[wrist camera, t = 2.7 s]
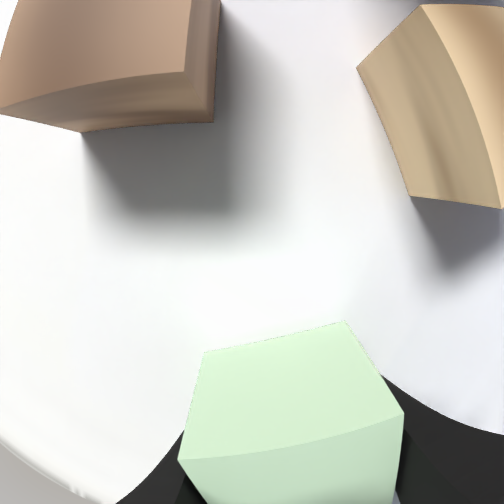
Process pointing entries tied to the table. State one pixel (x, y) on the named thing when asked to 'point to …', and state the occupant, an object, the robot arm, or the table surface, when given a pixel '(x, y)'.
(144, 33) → the walnut block
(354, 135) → the table surface
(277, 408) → the sage painted block
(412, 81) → the oak block
